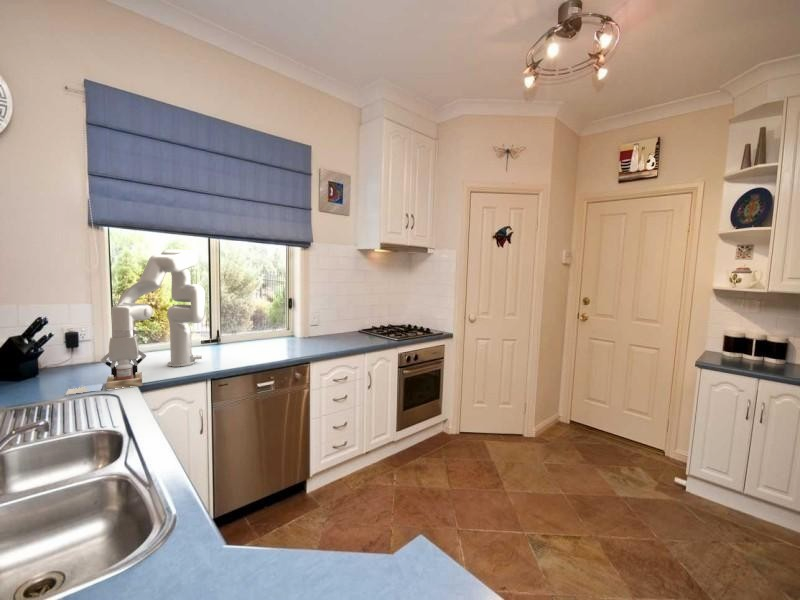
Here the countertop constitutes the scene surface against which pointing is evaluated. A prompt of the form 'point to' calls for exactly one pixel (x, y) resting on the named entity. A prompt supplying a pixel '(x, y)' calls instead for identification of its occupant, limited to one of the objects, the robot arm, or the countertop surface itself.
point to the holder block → (124, 382)
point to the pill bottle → (124, 370)
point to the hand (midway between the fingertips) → (124, 374)
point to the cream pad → (76, 390)
